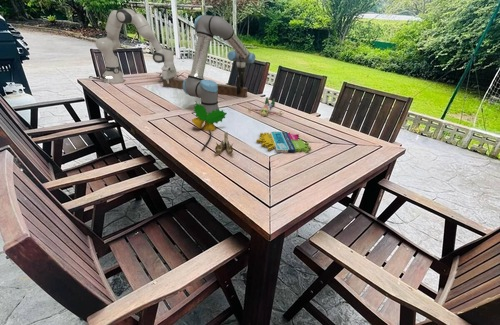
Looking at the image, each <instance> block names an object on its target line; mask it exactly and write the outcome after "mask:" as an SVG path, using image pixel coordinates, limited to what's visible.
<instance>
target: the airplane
mask: <svg viewBox="0 0 500 325" xmlns="http://www.w3.org/2000/svg"><path fill="white" fill-rule="evenodd" d="M157 74H159V75H158V77H160V78H159V79H158V81H157V83H161V82H162V83H163V79H162V78H163V77H162V72H157ZM184 76H185V75H184V74H177V76H175V79H178V78H179V77H184Z"/></svg>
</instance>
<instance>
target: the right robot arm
mask: <svg viewBox="0 0 500 325" xmlns="http://www.w3.org/2000/svg"><path fill="white" fill-rule="evenodd" d="M193 28H194V31H195V35H196V37H197V40H196V45H195V50H194V56H193V60H192V65H191V70H190V73H189V74H188V75H187V78H184V79H183V80H184V82H183V89H182V91H183V92H184V93H185V94H186V95H187V96H190V97H194V98H197V99H200V104H201V106H204V109H206V112H208V113H211V112H212V110H214V111H216V110H217V109H219V111H221V110H220V108H219V102H218V99H219V94H218V85H217V84H218V83H217V82H216V81H214V80H211V79H206V78H204V73H205V68H206V65H207V59H208V54H209V49H210V45H211V44H210V43H211V42H212V41H213V40H214V37H220V38H221V39H222V40H224V41H226V42H227V43H228V44H229V46H230V47H231V48H232V49H233V50H230V51H228V53H227V59H228V60H229V61H230V62H235V63H236V72H237V74H236V85H235V86H236V87H237V94H240V87H244V85H245V73H246V66H247V65H246V64H254V63H255V61H256V54H255V53H254V52H250V50H248V48H247V47H246V46H245V44H244V43H243V42H242V40H241V39H240V38H239V37H238V35H237V34H236V33H235V30H234V28H233V27H232V25H231V24H230V23H229V22H228V21H227V20H225V19H224V18H223V17H221V16H218V15H208V14H201V15H198V16H197V17H196V18H195V19H194V23H193ZM208 113H207V115H208ZM208 132H209V138H208V140H207V142H206V143H205V145H203V147H202V149H201V151H202V152H203V151H204V150H205V148H206V147H207V146H208V144H209V142H210V141H211V139H212V131H210V130H209V131H208Z"/></svg>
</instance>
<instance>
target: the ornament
mask: <svg viewBox="0 0 500 325" xmlns="http://www.w3.org/2000/svg"><path fill="white" fill-rule="evenodd" d="M219 110H220V108H219V109H217V110H216V111H214V110H212V112H211V113H208V112H206V109H204V106H201V103H198V102H195V105H194V106H193V112H194V113H195V118H192V119H191V122H192V123H193V125H195V127H197V128H198V129H202V130H203V131H206V132H209V130H210V131H211V132H212V131H213V132H214V131H215V130H216V126H215V124H218V123H219V122H223V119H226V115H227V114H228V113H227V112H224V110H223V109H221V110H220V111H219ZM207 113H208V115H207ZM214 123H215V124H214Z"/></svg>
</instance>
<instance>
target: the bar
mask: <svg viewBox="0 0 500 325" xmlns="http://www.w3.org/2000/svg"><path fill="white" fill-rule="evenodd" d="M162 79H163V78H162ZM184 80H185V79H183V78H176V77H174V78H169V81H170V83H169V84H168V83H167V81H166V79H163V81H162V87H164V88H169V89H170V88H172V89H179V90H183V82H184ZM217 85H218V95H223V96H230V97H238V98H246V97H247V96H248V87H247V86H246V87H244V86H243V87H240V94H237V87H236V85H230V84H222V83H217Z"/></svg>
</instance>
